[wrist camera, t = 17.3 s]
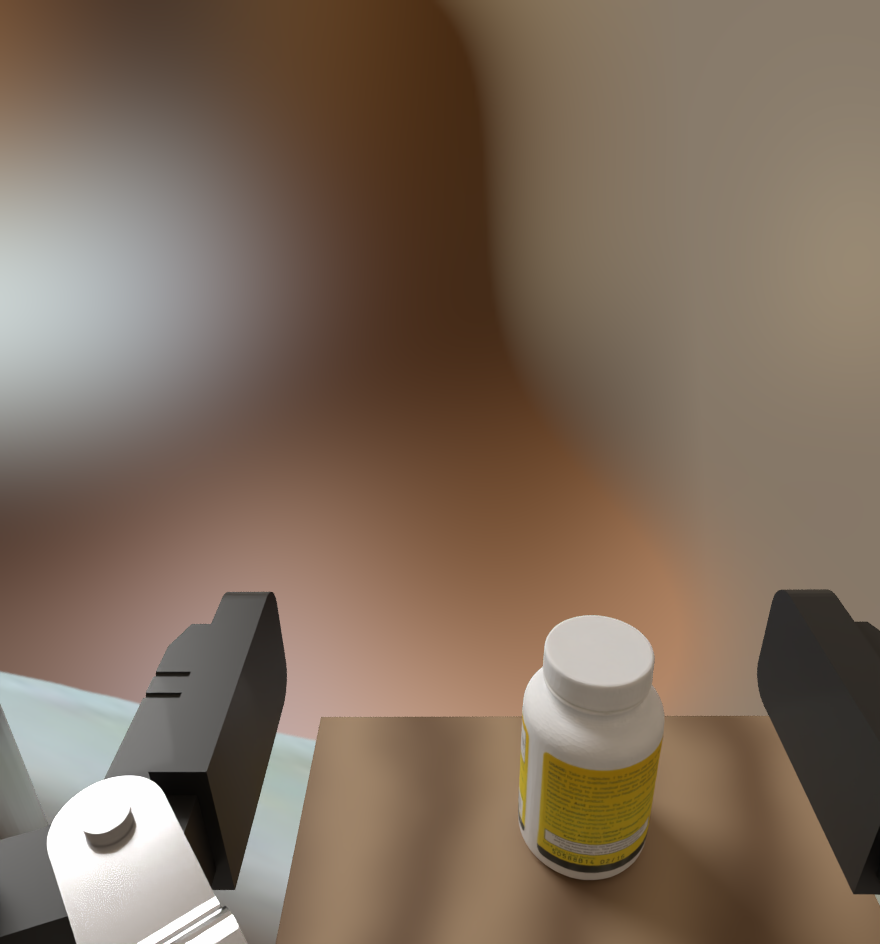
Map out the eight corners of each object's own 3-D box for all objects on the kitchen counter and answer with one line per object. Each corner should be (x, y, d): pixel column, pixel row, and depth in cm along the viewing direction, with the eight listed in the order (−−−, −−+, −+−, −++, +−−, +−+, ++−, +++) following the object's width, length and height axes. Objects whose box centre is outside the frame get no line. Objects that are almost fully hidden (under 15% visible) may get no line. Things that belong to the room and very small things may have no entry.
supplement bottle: (673, 849, 32) (708, 670, 27) (564, 908, 30) (581, 726, 25) (594, 756, 36) (612, 587, 31) (494, 802, 34) (497, 629, 29)
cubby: (312, 1155, 35) (270, 967, 28) (345, 902, 46) (321, 717, 39) (820, 1161, 35) (912, 970, 27) (735, 903, 45) (785, 715, 38)
